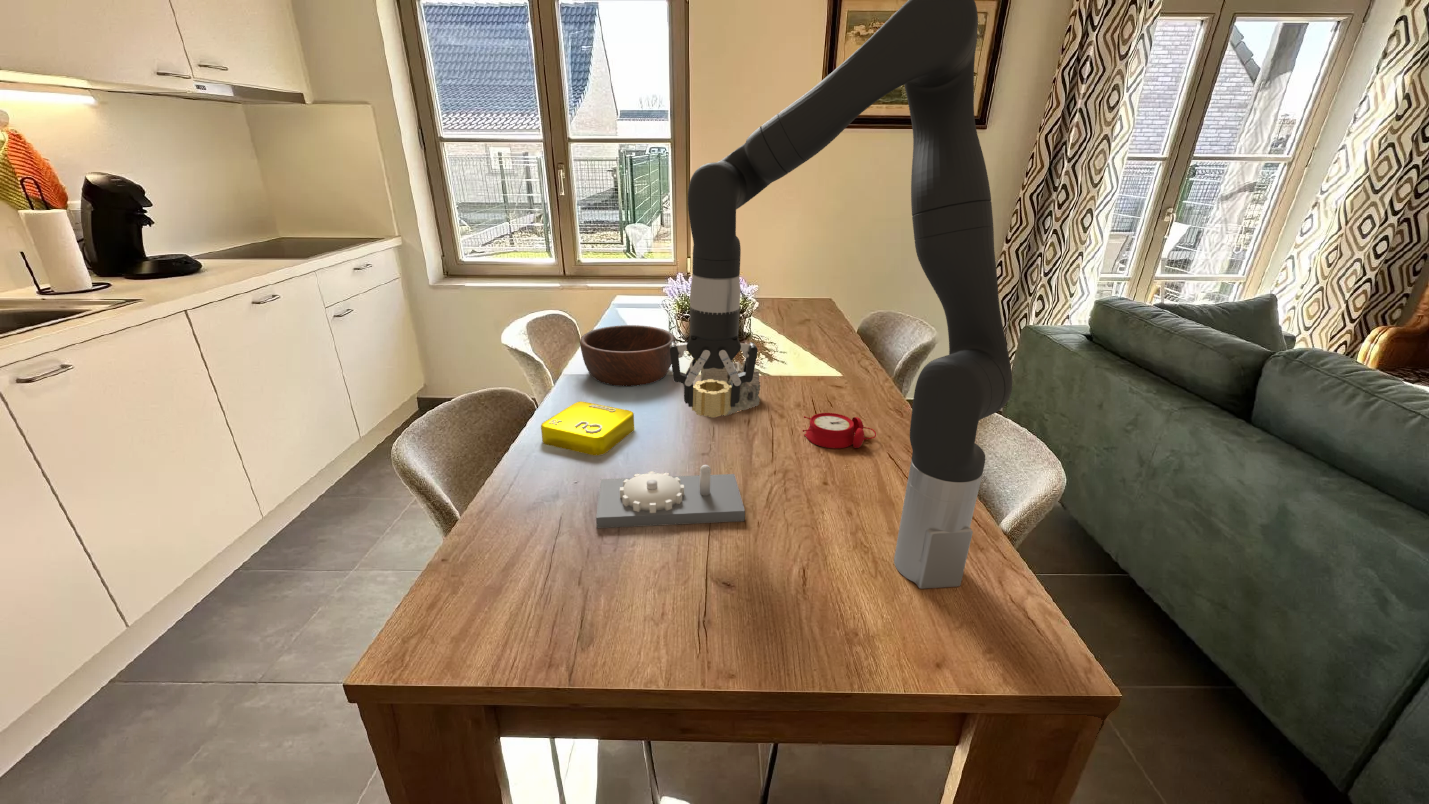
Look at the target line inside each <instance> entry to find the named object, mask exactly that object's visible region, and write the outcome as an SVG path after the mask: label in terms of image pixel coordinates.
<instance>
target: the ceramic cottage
mask: <svg viewBox="0 0 1429 804" xmlns="http://www.w3.org/2000/svg"><path fill="white" fill-rule="evenodd" d="M733 364H734V367H735V369H736V371H737V373H738V374H739V373H742V372H743V370H744V365H745V360H743V361H742V364H741V363H740V362H739V361H736V362H733ZM707 379H713V380H718V381H725V382H727V384H728V385H730V381H732V379H731V377H730V375H729V374H728V372H727V370H726V368H725V367H724V368H723V369H717V368H710V369H703V368H702V369H701V371H700V380H699V381H703V380H707ZM760 391H761V382H760V371H758V370H754V374H753V379H752V381H751V382H745V383H742V384H741V386H740V398H739V402H738V403H735V407H731V410H729V411H728V414H727V415H726V416H730V415H733V414H736V413H738V412H737V411H740V410H743V411H746V410H749V408H750V409H752V407H753V408H755V406H756V407H758V406H759V405H760V403H759V402H760V401H761V400H760V395H759V394H760ZM735 412H736V413H735ZM740 412H741V411H740ZM732 413H733V414H732ZM729 414H730V415H729Z"/></svg>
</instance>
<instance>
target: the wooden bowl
mask: <svg viewBox="0 0 1429 804" xmlns="http://www.w3.org/2000/svg"><path fill="white" fill-rule="evenodd" d="M671 342H676V337H675V335H674V334H673V333H671V332H670V331H669V330H666V329H663V328H659V327H655V326H650V325H649V326H648V325H639V324H637V325H636V324H629V325H628V324H626V325H625V324H623V325H621V324H620V325H612V326H604V327H600V328H596V329H592V330H589V331H588V332H586V333H584V334H583V335H582V336H581V337H580V340H579V346H580V351H581V355H582V360H583V362H584V366H585V367H586V370H587V371H588V373H589V374H590V375H591V377H592V378H593V379H594V380H595V381H597V382H599V383H602V384H605V385H608V386H614V385H615V387H637V385H639V386H644V385H650V384H653V383H655V382H658V381H660V380H661V378H662V379H663V378H664V377H666V376H667V373H668V372H669V371H670V368H672V364H671V355H670V343H671Z"/></svg>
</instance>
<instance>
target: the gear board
mask: <svg viewBox="0 0 1429 804" xmlns="http://www.w3.org/2000/svg"><path fill="white" fill-rule="evenodd" d="M737 481H738V480H737V478H736V475H735V473H729V474H728V473H724V474H723V473H722V474H711V467H710V465H708V464H703V465H701V467H700V468H699V475H674V476H672V475H670V473H668V472H663V473H659V472H658V473H657V472H655V471H648V472H647V473H644V474H640V473H638V472H637V473H636V474H633V477H621V478H620V477H619V478H601V479H600V483H599V489H598V490H599V492H598V498H597V506H596V517H595V518H596V519H595V520H596V529H606V528H629V527H649V526H651V527H652V526H668V525H671V526H672V525H673V526H674V525H688V524H690V525H691V524H709V523H710V524H713V523H732V522H735V523H736V522H745V518H746V517H745V514H746V509H745V507H744V503H743V499H742V496H741V493H740V489H739V485H738V482H737Z"/></svg>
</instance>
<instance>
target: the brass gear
mask: <svg viewBox="0 0 1429 804" xmlns="http://www.w3.org/2000/svg"><path fill="white" fill-rule="evenodd" d="M730 403H731V385H728V384H727V382H725V381H718V380H713V379H707V380H703V381H700V380H698V381H695V383H694V384H693V407H691V411H694V413H695V414H696V415H698V416H700V417H701V416H704V417H709V418H717V417H721V415H722V416H723V415H724V416H723V417H725V416H728V415H727V414H728V411H729V410H731V406H730Z"/></svg>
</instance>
